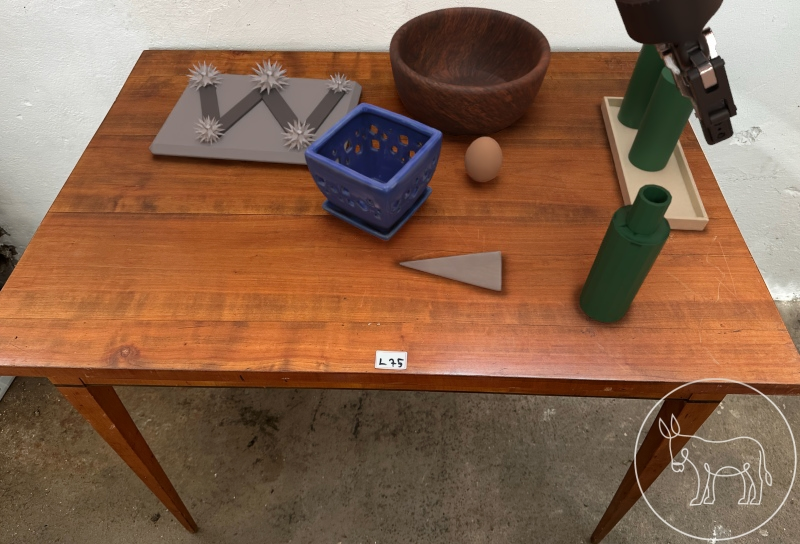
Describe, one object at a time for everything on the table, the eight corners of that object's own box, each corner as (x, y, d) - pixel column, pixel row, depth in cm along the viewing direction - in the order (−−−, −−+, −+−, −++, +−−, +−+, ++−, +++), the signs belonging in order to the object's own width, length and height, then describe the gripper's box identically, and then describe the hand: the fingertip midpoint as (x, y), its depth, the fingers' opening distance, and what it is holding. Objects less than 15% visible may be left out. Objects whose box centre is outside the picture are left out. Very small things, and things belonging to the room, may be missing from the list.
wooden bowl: (391, 62, 100) (390, 6, 92) (527, 60, 99) (537, 4, 91) (389, 149, 84) (387, 91, 76) (551, 148, 84) (566, 89, 76)
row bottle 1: (655, 113, 88) (702, 2, 74) (650, 133, 85) (698, 20, 71) (620, 105, 90) (660, -6, 76) (614, 124, 87) (654, 12, 72)
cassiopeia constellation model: (149, 160, 83) (131, 121, 78) (197, 81, 97) (184, 43, 91) (341, 173, 81) (337, 134, 75) (363, 90, 94) (360, 52, 89)
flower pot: (311, 219, 75) (297, 150, 66) (367, 166, 82) (362, 97, 73) (390, 259, 70) (387, 191, 61) (443, 199, 77) (447, 130, 68)
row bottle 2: (669, 153, 82) (723, 39, 68) (663, 176, 79) (719, 61, 65) (631, 143, 84) (676, 30, 69) (624, 165, 80) (670, 51, 66)
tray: (702, 230, 73) (709, 220, 71) (629, 226, 73) (634, 216, 72) (659, 109, 90) (663, 98, 88) (600, 106, 90) (603, 96, 89)
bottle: (630, 294, 66) (689, 184, 52) (621, 329, 63) (682, 223, 49) (584, 279, 68) (630, 169, 54) (574, 313, 65) (619, 205, 51)
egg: (471, 161, 82) (475, 123, 77) (504, 172, 81) (511, 133, 75) (456, 183, 79) (460, 145, 74) (491, 195, 78) (497, 156, 72)
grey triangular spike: (396, 297, 66) (503, 289, 64) (394, 259, 67) (500, 249, 64) (405, 300, 72) (504, 292, 69) (403, 265, 73) (501, 256, 70)
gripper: (750, -24, 36) (779, 139, 46) (681, -100, 45) (719, 52, 55) (635, 37, 39) (686, 177, 50) (592, -44, 48) (643, 89, 59)
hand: (703, 111), depth 52 cm, fingers open, 8 cm apart
